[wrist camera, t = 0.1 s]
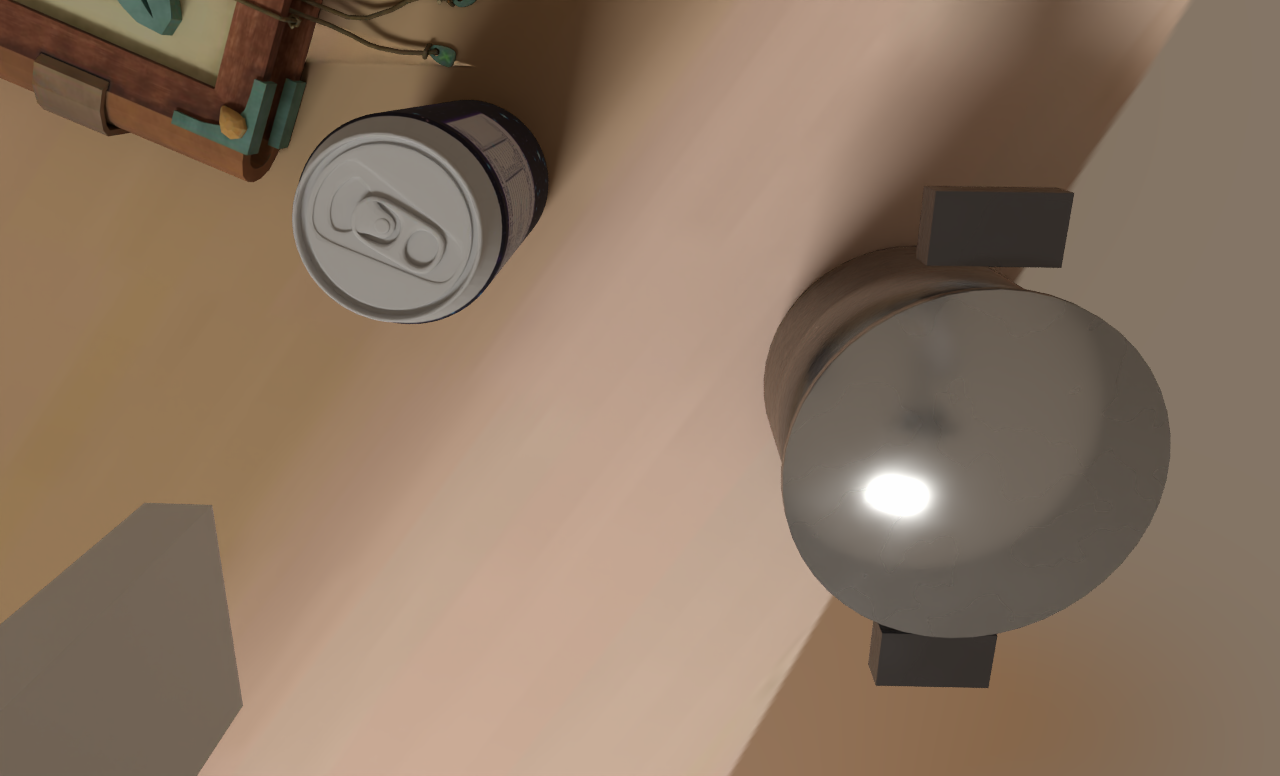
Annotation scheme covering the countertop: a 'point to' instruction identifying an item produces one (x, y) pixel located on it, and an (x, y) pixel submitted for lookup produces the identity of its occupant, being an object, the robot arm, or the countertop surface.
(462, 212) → the beverage can
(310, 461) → the countertop surface
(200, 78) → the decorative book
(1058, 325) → the pot
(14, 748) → the robot arm
